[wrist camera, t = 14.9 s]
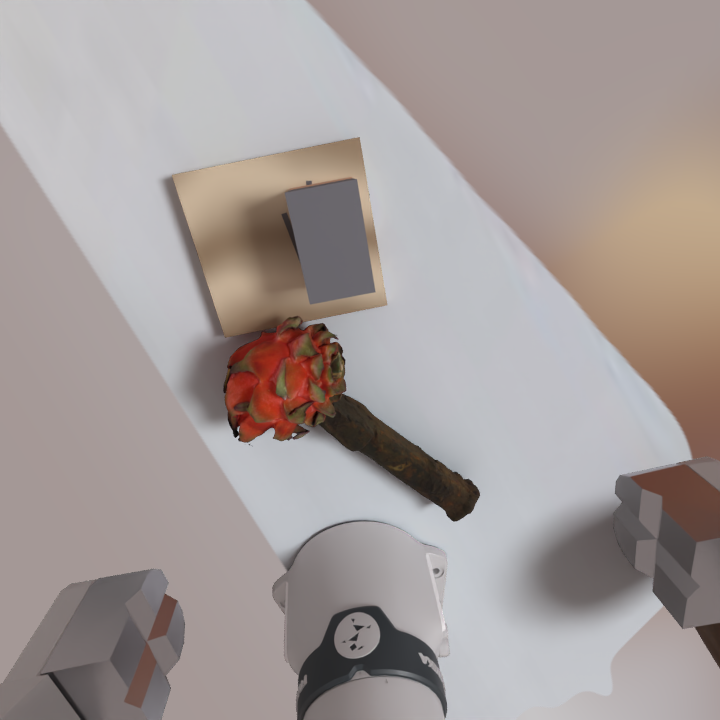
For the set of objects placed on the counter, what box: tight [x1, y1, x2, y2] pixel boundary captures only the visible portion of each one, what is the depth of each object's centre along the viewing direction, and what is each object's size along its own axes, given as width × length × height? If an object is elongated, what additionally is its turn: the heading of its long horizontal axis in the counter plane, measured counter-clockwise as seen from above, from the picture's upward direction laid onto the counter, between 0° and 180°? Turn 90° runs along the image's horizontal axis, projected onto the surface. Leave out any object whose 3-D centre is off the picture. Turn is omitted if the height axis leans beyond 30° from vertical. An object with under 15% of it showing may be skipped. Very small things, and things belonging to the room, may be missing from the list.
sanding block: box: [285, 177, 376, 305], centre depth 30 cm, size 7×4×5 cm, turn 10°
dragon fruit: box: [224, 316, 346, 447], centre depth 34 cm, size 8×8×12 cm
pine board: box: [172, 137, 387, 338], centre depth 33 cm, size 12×13×2 cm
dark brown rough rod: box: [317, 394, 480, 521], centre depth 39 cm, size 19×4×5 cm, turn 46°
